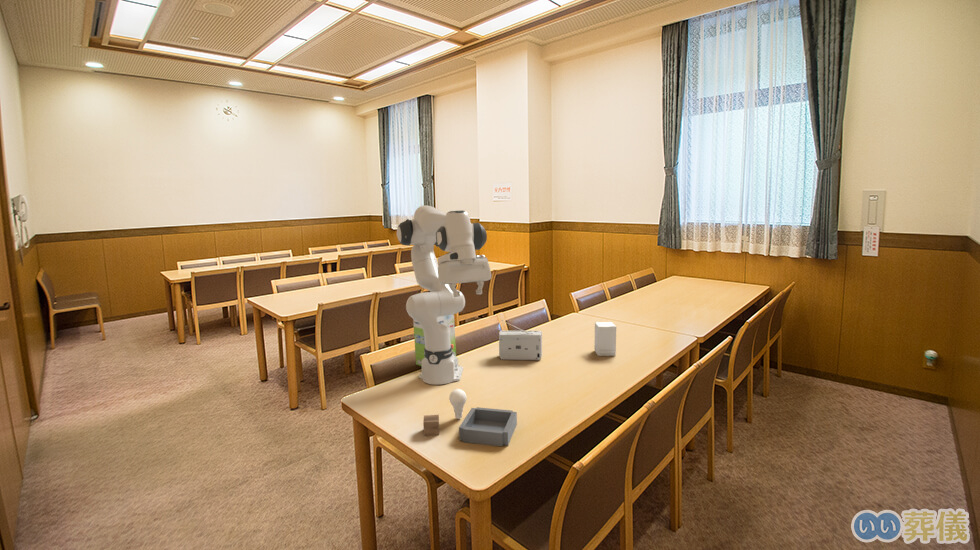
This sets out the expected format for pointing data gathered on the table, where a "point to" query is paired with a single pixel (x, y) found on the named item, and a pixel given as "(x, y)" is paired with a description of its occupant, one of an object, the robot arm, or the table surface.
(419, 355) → the toothbrush box
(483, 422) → the gray square tray
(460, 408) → the lightbulb
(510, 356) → the stereo radio cassette player
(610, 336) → the supplement box
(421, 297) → the robot arm
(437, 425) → the walnut block
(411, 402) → the table surface
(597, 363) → the table surface
